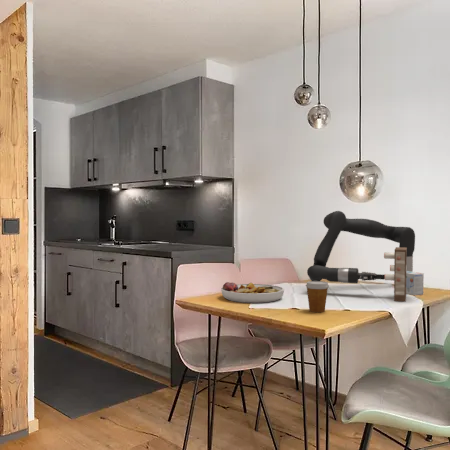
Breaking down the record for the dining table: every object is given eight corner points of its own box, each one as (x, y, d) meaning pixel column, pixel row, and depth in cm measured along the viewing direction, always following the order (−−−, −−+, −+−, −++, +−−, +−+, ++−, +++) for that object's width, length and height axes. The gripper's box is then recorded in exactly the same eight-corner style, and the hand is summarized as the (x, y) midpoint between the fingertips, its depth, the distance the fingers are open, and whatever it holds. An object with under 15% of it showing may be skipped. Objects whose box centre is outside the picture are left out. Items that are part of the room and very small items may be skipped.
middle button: (390, 270, 230) (390, 264, 230) (406, 271, 228) (406, 265, 228) (389, 271, 228) (389, 265, 227) (406, 272, 225) (406, 265, 225)
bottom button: (384, 279, 236) (384, 273, 236) (400, 280, 233) (400, 274, 233) (384, 280, 233) (384, 274, 233) (400, 281, 231) (400, 274, 231)
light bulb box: (398, 292, 251) (398, 271, 250) (407, 291, 254) (407, 270, 253) (414, 295, 241) (414, 273, 241) (423, 294, 244) (424, 273, 244)
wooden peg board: (395, 295, 241) (395, 247, 240) (406, 296, 239) (406, 247, 238) (394, 301, 225) (394, 249, 224) (405, 302, 223) (406, 250, 223)
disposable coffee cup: (312, 307, 210) (312, 280, 209) (332, 310, 204) (332, 282, 203) (301, 311, 202) (301, 282, 202) (321, 314, 196) (321, 284, 196)
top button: (384, 258, 241) (384, 252, 241) (400, 258, 238) (400, 252, 238) (384, 258, 238) (384, 252, 238) (399, 259, 235) (399, 253, 235)
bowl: (280, 293, 248) (280, 278, 248) (286, 304, 218) (287, 287, 218) (222, 293, 249) (222, 278, 249) (220, 304, 219) (220, 287, 219)
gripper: (346, 269, 235) (383, 270, 228) (349, 266, 247) (385, 267, 241) (346, 284, 235) (383, 286, 229) (349, 281, 247) (385, 282, 241)
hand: (384, 277), depth 235 cm, fingers closed
